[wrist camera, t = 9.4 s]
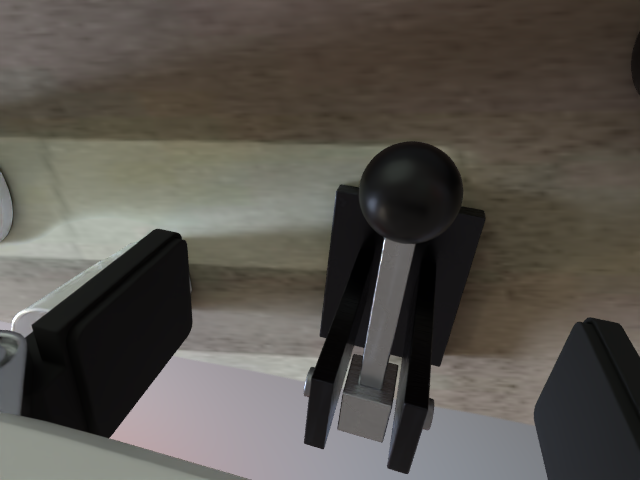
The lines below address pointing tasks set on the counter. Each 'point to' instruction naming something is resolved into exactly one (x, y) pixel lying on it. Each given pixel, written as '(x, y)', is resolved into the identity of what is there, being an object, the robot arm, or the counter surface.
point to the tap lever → (395, 266)
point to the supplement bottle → (636, 64)
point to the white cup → (61, 295)
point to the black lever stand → (413, 324)
